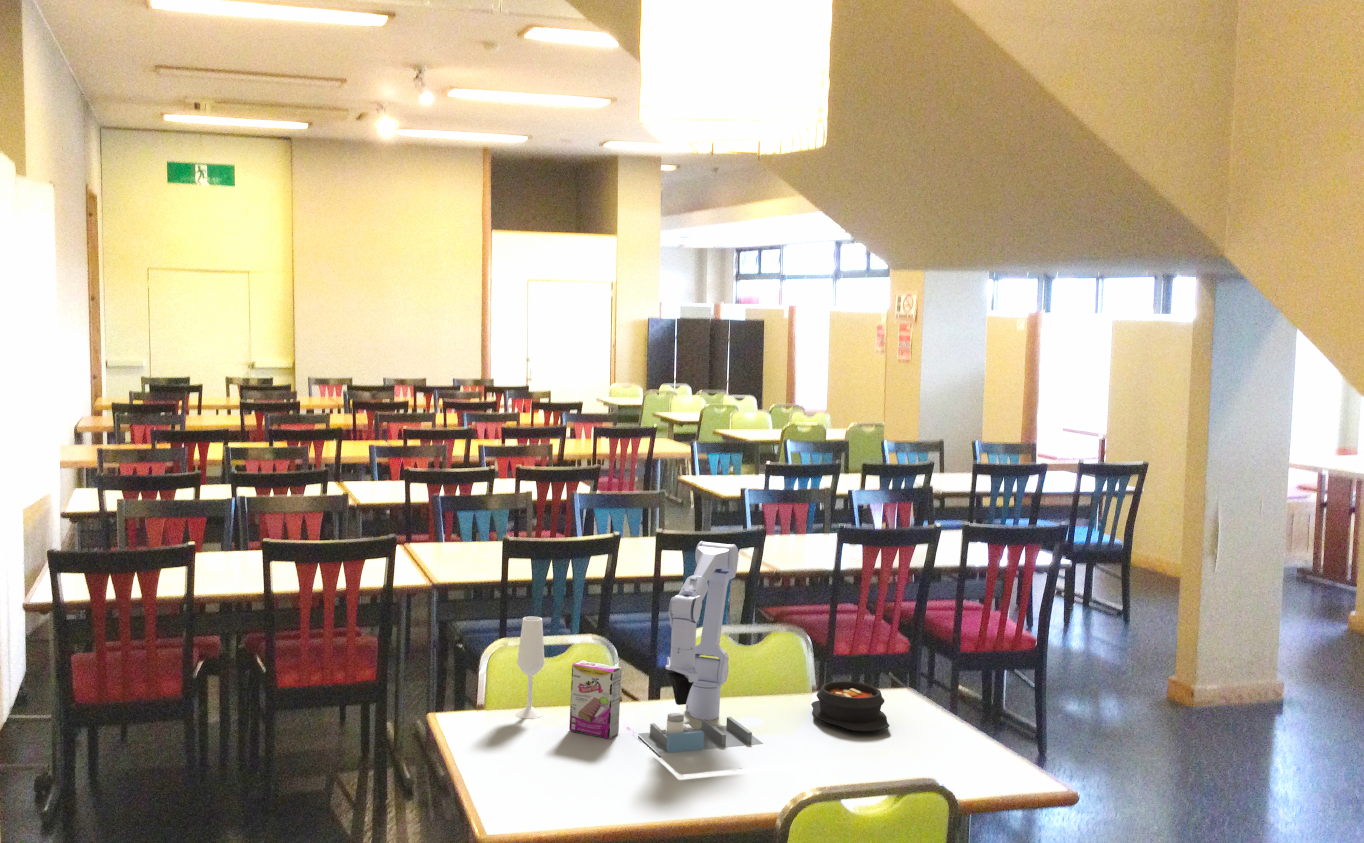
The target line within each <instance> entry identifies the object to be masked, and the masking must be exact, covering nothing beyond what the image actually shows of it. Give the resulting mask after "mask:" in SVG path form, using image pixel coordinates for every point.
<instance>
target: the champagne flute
mask: <svg viewBox="0 0 1364 843" xmlns="http://www.w3.org/2000/svg"><path fill="white" fill-rule="evenodd" d="M544 643H545V642H544V627H543V618H542V617H540V616H524V617H522V622H521V630H520V639H519V644H518V646H519V647H518V652H517V660H516V661H517V662H516V663H517V666H518V668H519V669H520V670H521V672H522V673H524V675H526V676H527V694H526V697H527V698H526V707H524V708H522V709H521V710H518V711H516V712H515V716H516V717H517V718H521V719H530V720H531V719H537V718H540V717H542V716H543V712H541V711H539V710H538V709H536V708H535V707H534V706H533V705H532V704H533V684H534V683H533V678H534V676H535V675H537V674H538V673H539V672H540V671H541V670H542V669H543V667H544V665H545V661H546V660H545V647H544Z"/></svg>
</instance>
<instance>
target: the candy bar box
mask: <svg viewBox="0 0 1364 843" xmlns="http://www.w3.org/2000/svg"><path fill="white" fill-rule="evenodd" d="M621 681H622V667H620V666H616V665H610V664H605V663H599V662H595V661H590V660H583V659H580V660H579V661H576V662H574V663H573V664H571V681H570V683H571V685H570V686H571V687H570V707H569V708H570V709H569V731H570V732H575V733H580V734H583V735H589V736H594V737H599V738H604V739H607V738H608V740H610V739H612V738H613V737H615V736H617V735H618V734H619V728H620V709H621V707H620V704H621V683H622V682H621ZM611 737H612V738H611ZM609 738H610V739H609Z"/></svg>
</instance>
